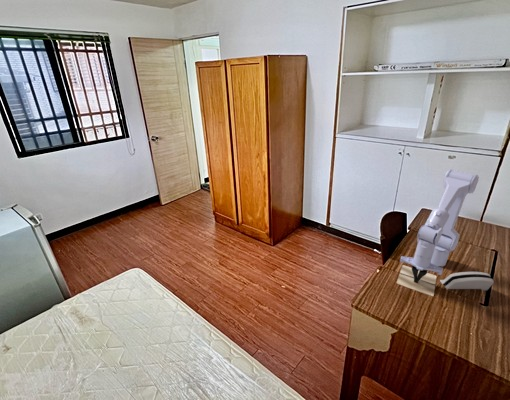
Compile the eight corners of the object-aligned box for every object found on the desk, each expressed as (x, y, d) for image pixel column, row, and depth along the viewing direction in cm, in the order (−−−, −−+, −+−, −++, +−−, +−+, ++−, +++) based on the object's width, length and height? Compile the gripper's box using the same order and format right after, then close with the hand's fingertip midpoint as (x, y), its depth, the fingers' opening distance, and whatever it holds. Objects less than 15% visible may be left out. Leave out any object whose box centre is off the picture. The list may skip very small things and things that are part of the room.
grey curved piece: (478, 281, 113) (492, 268, 106) (485, 292, 109) (500, 279, 102) (437, 281, 113) (448, 269, 106) (442, 292, 110) (454, 280, 103)
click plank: (398, 276, 117) (399, 273, 116) (434, 288, 110) (435, 285, 109) (395, 285, 111) (396, 283, 111) (432, 298, 104) (433, 296, 104)
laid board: (402, 267, 122) (402, 264, 121) (435, 278, 115) (436, 275, 114) (399, 275, 117) (399, 273, 116) (434, 287, 110) (435, 285, 109)
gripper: (401, 253, 107) (394, 280, 113) (445, 266, 99) (435, 294, 105) (404, 244, 112) (398, 270, 118) (446, 256, 104) (437, 283, 110)
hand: (416, 281), depth 112 cm, fingers closed
